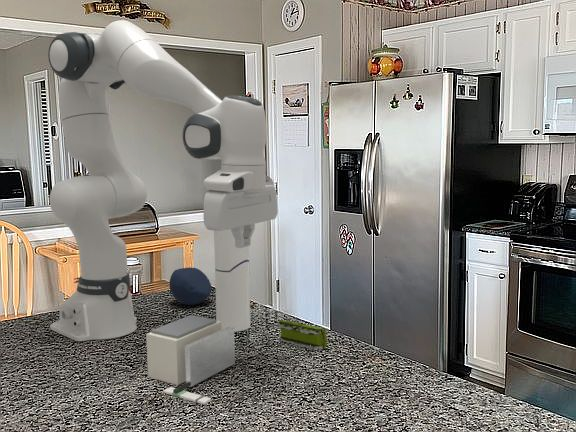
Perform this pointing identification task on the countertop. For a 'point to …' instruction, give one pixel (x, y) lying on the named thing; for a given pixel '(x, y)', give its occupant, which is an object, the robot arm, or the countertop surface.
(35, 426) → the countertop surface
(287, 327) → the toy tank
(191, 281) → the decorative stone
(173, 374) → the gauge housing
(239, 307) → the container
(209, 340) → the plate
